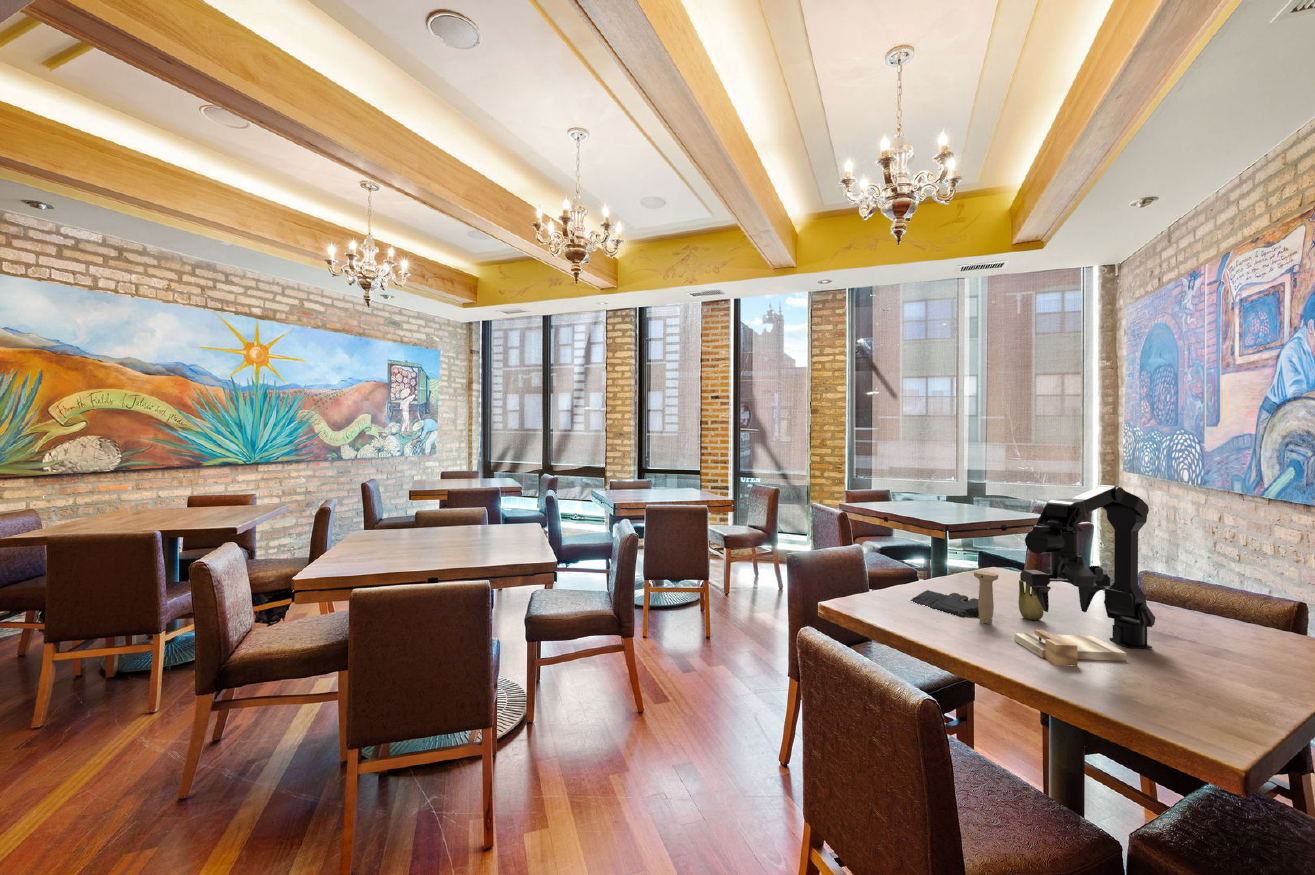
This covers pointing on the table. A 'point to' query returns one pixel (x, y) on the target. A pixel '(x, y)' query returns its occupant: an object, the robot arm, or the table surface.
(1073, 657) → the marking gauge
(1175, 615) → the table surface
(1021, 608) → the fennel bulb
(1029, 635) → the ash plank
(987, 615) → the handle
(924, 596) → the dark slate chunk
